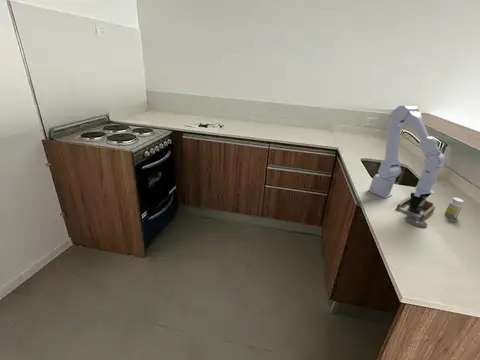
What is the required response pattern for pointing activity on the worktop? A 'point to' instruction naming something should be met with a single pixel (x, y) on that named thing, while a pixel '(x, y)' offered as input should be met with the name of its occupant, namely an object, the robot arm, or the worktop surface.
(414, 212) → the tin can
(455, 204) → the supplement bottle
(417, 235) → the worktop surface
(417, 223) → the coaster
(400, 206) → the frame
